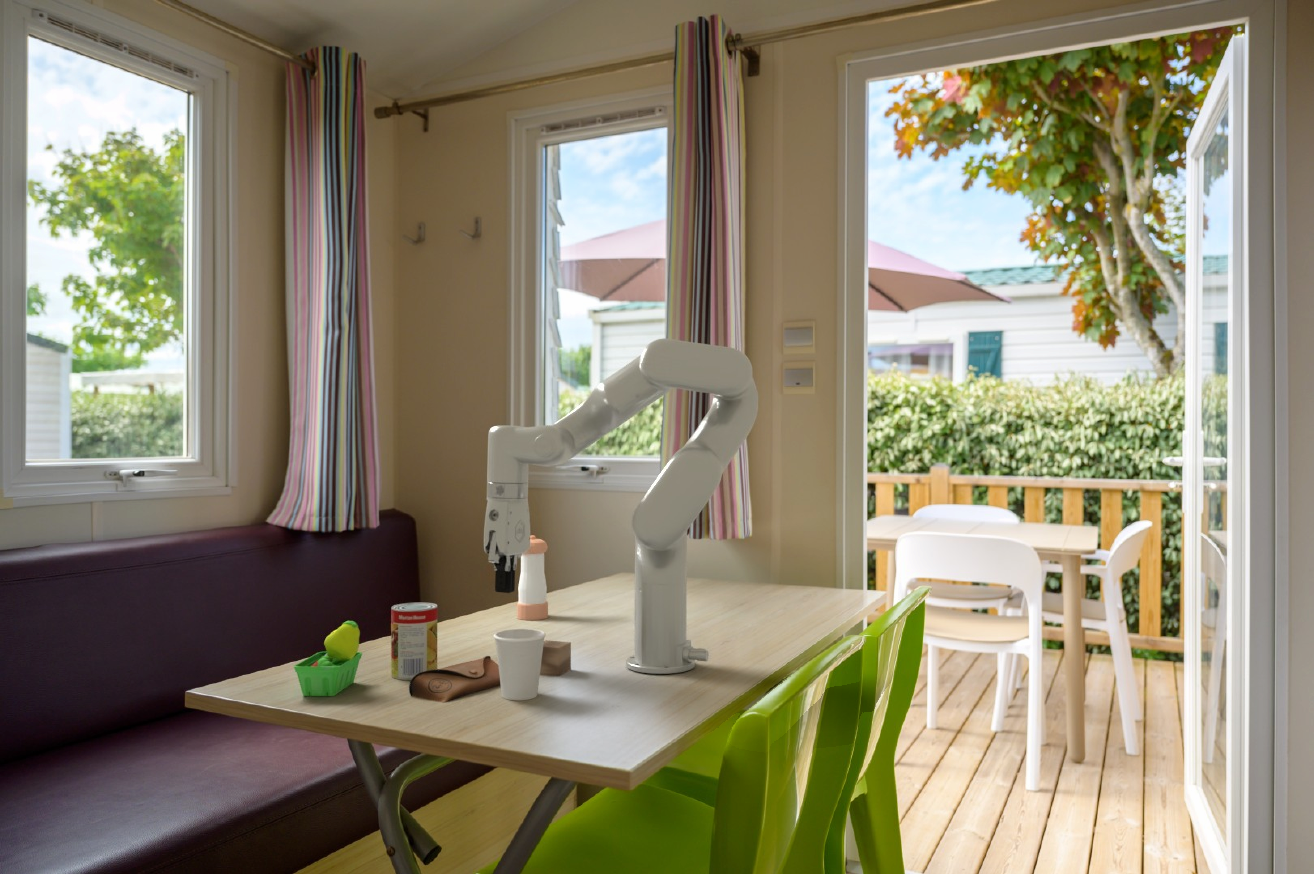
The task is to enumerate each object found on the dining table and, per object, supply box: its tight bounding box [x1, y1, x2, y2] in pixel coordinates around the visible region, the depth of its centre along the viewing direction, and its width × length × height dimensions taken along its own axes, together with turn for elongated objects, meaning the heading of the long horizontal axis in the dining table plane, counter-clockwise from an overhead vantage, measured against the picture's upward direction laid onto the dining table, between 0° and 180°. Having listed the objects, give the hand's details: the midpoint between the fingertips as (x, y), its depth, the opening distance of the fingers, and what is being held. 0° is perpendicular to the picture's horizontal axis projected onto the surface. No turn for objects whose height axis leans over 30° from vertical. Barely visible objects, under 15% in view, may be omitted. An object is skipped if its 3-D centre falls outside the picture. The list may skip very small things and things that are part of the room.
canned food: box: [390, 602, 438, 681], centre depth 163 cm, size 8×8×12 cm
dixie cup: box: [493, 628, 547, 701], centre depth 149 cm, size 8×8×10 cm
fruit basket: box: [293, 620, 363, 697], centre depth 153 cm, size 11×9×11 cm
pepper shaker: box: [516, 534, 549, 621], centre depth 217 cm, size 7×7×19 cm
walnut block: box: [540, 639, 572, 677], centre depth 165 cm, size 5×5×5 cm
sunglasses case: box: [408, 655, 501, 704], centre depth 155 cm, size 18×7×7 cm
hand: (504, 591), depth 171 cm, fingers closed
